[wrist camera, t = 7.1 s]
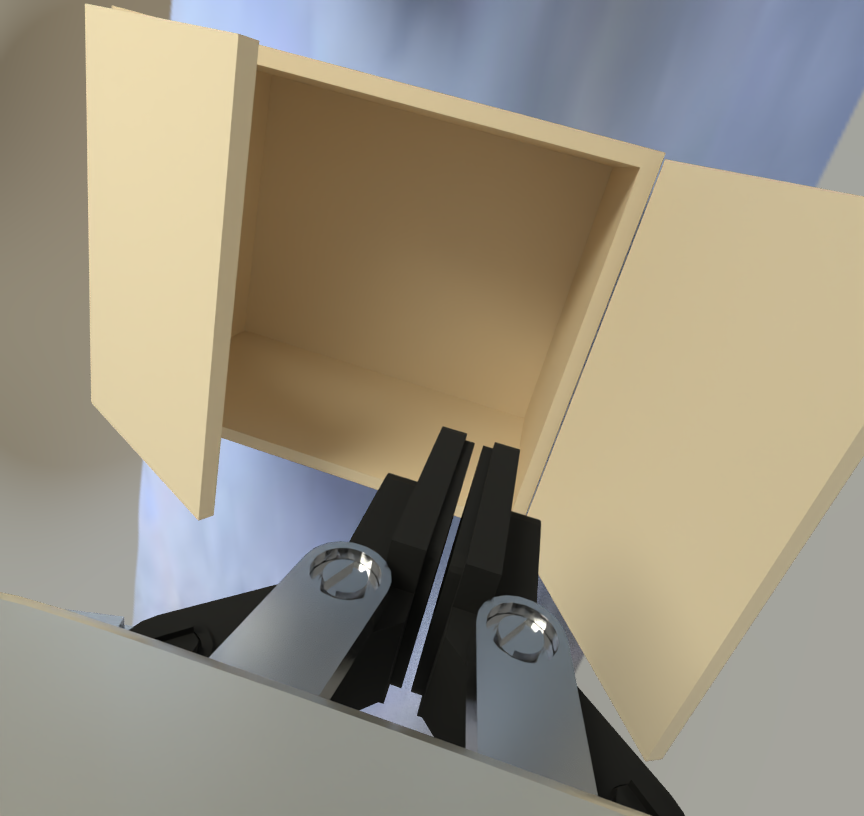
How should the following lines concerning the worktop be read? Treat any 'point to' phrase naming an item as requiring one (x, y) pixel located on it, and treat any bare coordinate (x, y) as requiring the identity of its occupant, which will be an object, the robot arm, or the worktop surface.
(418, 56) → the worktop surface
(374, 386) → the carton
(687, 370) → the raised flap
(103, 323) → the low flap
